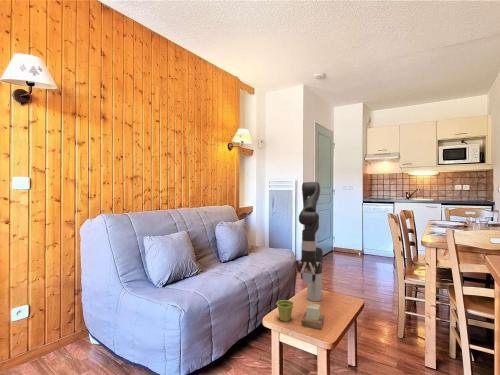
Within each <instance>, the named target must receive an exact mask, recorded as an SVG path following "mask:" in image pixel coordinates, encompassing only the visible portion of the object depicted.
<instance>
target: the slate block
mask: <svg viewBox="0 0 500 375" xmlns="http://www.w3.org/2000/svg"><path fill="white" fill-rule="evenodd" d="M312 275H313V273H312V271H307V269H305V270H304V272H303V279H301V280H302V283H306V284H307V283H313V281H312Z"/></svg>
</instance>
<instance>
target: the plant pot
mask: <svg viewBox="0 0 500 375" xmlns="http://www.w3.org/2000/svg"><path fill="white" fill-rule="evenodd" d="M276 306H277V309H278V316H279V320H280V321H283V322H286V323H287V322H290V321H291V320H292V313H293V312H292V311H293V307H294V306H295V305H294V302H293V301H291V300H289V299H288V300H287V299H281V300H277V302H276Z"/></svg>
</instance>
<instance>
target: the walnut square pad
mask: <svg viewBox="0 0 500 375" xmlns="http://www.w3.org/2000/svg"><path fill="white" fill-rule="evenodd" d="M324 323H325V315H324V314H320V317H319V319H318V321H315V320H310V319H306V312H304V315H303V317H302V319H301V327H304V328H305V327H306V328H309V329H310V328H311V329H315V330H321V331H322V330H323V329H322V328H323V325H324Z"/></svg>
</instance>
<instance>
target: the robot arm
mask: <svg viewBox="0 0 500 375" xmlns="http://www.w3.org/2000/svg"><path fill="white" fill-rule="evenodd" d="M320 193H321V186H320V183H319V182H317V181H308V182H306V181H305V182H303V183H302V184H301V195H302V201H303V208H302V210H301V211H300V213H299V215H298V221H299V223H300V224H301V225H304V226H303V227H304V229H303V230H302V231H301V258H300V259H296V260H295V266H296V270H297V272H299V273H300V279H301V280H302V279H303V272H304V271H305V270H306V271H312V273H313V275H312V281H313V283H306V284H307V285H306V287H307V288H306V290H307V292H306V297H307V300H308V301H311V302H320V301H322V299H323V271H322V270H323V258H324V252H323V249H322V248H321V247H317V245H316V234H317V232H318V230H319V228H320V227H319V226H320V225H319V224H320V223H319V220H320V215H319V213H318V212H317V204H318V200H319V198H320ZM301 265H302V268H301Z"/></svg>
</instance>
